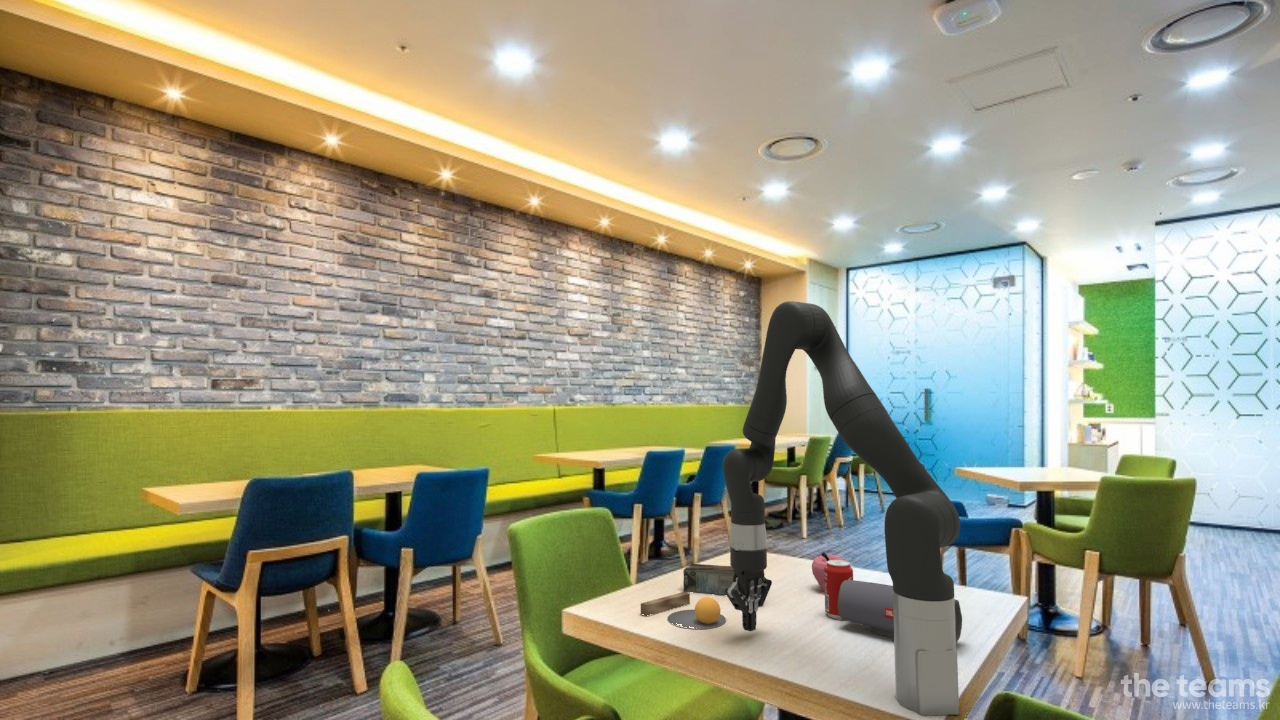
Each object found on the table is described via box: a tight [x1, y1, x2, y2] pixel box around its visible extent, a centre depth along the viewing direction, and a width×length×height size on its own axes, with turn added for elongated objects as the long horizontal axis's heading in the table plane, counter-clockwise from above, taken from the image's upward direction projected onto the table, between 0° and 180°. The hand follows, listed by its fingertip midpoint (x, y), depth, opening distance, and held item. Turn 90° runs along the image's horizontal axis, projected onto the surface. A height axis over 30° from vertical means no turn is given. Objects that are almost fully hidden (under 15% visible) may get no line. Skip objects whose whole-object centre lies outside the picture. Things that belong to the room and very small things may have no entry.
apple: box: [811, 551, 845, 592], centre depth 169 cm, size 10×9×10 cm
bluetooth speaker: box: [837, 579, 963, 643], centre depth 137 cm, size 23×9×10 cm, turn 49°
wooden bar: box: [640, 591, 691, 617], centre depth 155 cm, size 14×2×2 cm, turn 131°
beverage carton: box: [682, 563, 734, 596], centre depth 170 cm, size 8×19×7 cm, turn 71°
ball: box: [694, 596, 721, 624], centre depth 145 cm, size 6×6×6 cm
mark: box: [667, 609, 727, 630], centre depth 147 cm, size 13×13×1 cm
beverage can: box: [824, 560, 854, 621], centre depth 149 cm, size 6×6×12 cm
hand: (749, 629), depth 136 cm, fingers closed
